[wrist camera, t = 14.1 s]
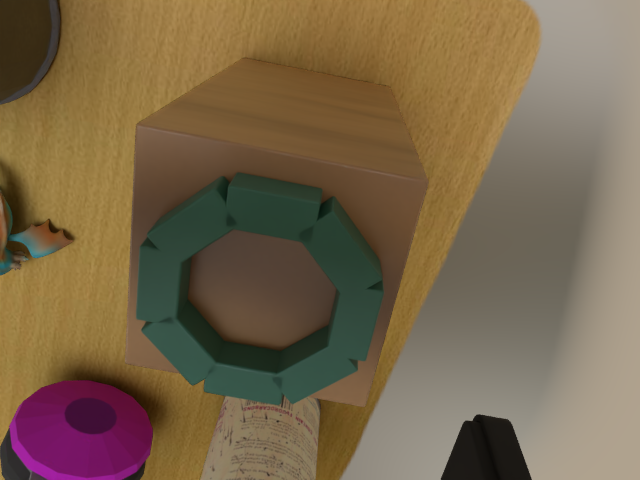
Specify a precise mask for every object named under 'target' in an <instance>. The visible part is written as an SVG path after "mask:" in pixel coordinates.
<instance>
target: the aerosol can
mask: <svg viewBox="0 0 640 480" xmlns="http://www.w3.org/2000/svg"><path fill="white" fill-rule="evenodd" d="M319 421H320V402H319V399H317V398H312V397H306V398H304V399H302V400H300V401H298V402H297V403H295V404H291V403H290V401H289V400H288V399H287V398H286V397H285V396H284V395H283V397H282V402H281V404H280V405H273V404H268V403H262V402H257V401H251V400H245V399H240V398H234V397H229V396H225V398H224V401H223V405H222V408H221V411H220V414H219V417H218V421H217V424H216V427H215V430H214V434H213V437H212V440H211V443H210V447H209V450H208V453H207V456H206V460H205V463H204V466H203V469H202V473H201V476H200V479H199V480H315V477H316V463H317V449H318V435H319Z"/></svg>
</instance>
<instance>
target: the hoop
mask: <svg viewBox="0 0 640 480" xmlns="http://www.w3.org/2000/svg"><path fill="white" fill-rule="evenodd" d="M322 192H323V190H322V189H321V188H317V187H312V186H307V185H302V184H297V183H291V182H286V181H281V180H276V179H271V178H265V177H260V176H255V175H250V174H245V173H240V172H238V173H236V175H235V176H234V178H233V179H232V181H231V183H229V181H228V180H227V179H226V178H225V177H224V176H221V177H219V178H218V179H216V180H215V181H213V182H212V183H210V184H209V185H207V186H206V187H204V188H203V189H201V190H200V191H199V192H197V193H196V194H194V195H193V196H191V197H190V198H188V199H187V200H185V201H184V202H183V203H181V204H180V205H178V206H177V207H175V208H174V209H172V210H171V211H169V212H168V213H166V214H165V215H164V216H162V217H161V218H160V219H159V220H158V221H157V222H156V223H155V224H154V226H153V227H152V228H151V229H150V230H149V232H148V233H147V238H146V239H145V240H144V242H143V243H142V244H141V245H140V247H139V264H138V283H137V302H136V319H138V320H143V321H146V322H145V324H144V326H143V327H142V329H141V331H142V333H143V334H144V335H145V336H146V337H147V338H148V339H149V340H150V341H151V342H152V344H153V345H154V346H155V347H156V348H157V349H158V350H159V351H160V352H161V353H162V354H163V355H164V356H165V357H166V358H167V360H168V361H169V362H170V363H171V364H172V365H173V366H174V367H175V368H176V369H177V370H178V371H179V372H180V373H181V374H182V376H183V377H184V378H185V379H186V380H187V381H188V382H189V383H190V384H191V385H195V384H197V383H199V382H200V381H202V380H204V379H205V381H204V392H207V393H212V394H218V395H223V396H229V397H234V398H240V399H245V400H251V401H257V402H262V403H268V404H273V405H280V404H281V402H282V397H283V395H284V396H285V397H286V398H287V399H288V400H289V401H290V403H291V404H295V403H297V402H298V401H300V400H302V399H304V398H306V397H308V396H310V395H312V394H314V393H316V392H318V391H320V390H322V389H324V388H326V387H328V386H329V385H331V384H333V383H335V382H337V381H339V380H341V379H343V378H345V377H347V376H349V375H351V374H353V373H355V372H357V371H358V360H359V361H366V359H367V355H368V352H369V348H370V344H371V340H372V337H373V333H374V329H375V326H376V322H377V318H378V315H379V311H380V307H381V303H382V300H383V296H384V285H383V276H382V273H381V265H380V259H379V258H378V257H377V255H376V254H375V252H374V251H373V250H372V248H371V247H370V245H369V244H368V243H367V241H366V240H365V238H364V237H363V235H362V234H361V233H360V231H359V230H358V228H357V227H356V226H355V224H354V223H353V221H352V220H351V218H350V217H349V216H348V214H347V213H346V211H345V210H344V209H343V207H342V206H341V204H340V203H339V202H338V200H337V199H336V197H335V196H333V197H331V198H329V199H328V200H326V201H325V202H323V203H321V199H322ZM234 229H235V230H240V231H245V232H251V233H256V234H261V235H267V236H272V237H277V238H282V239H288V240H293V241H298V242H302V243H303V245H304V246H305V247H306V249H307V250H308V251H309V253H310V254H311V255H312V257H313V258H314V259H315V261H316V262H317V263H318V265H319V266H320V267H321V269H322V270H323V271H324V273H325V274H326V275H327V277H328V278H329V279H330V280H331V282H332V283H333V284H334V286H335V287H336V288H337V290H336V295H335V299H334V303H333V308H332V312H331V317H330V321H329V325H327V326H325V327H323V328H322V329H320V330H318V331H316V332H314V333H313V334H311V335H309V336H307V337H305V338H304V339H302V340H300V341H298V342H296V343H295V344H293V345H291V346H289V347H287V348H286V349H284V350H282V351H278V350H272V349H267V348H261V347H256V346H250V345H245V344H239V343H234V342H229V341H224V340H223V339H222V337H221V336H220V335H219V334H218V333H217V332H216V331H215V329H214V328H213V327H212V326H211V325H210V324H209V323H208V321H207V320H206V319H205V318H204V317H203V316H202V315H201V314H200V312H199V311H198V310H197V309H196V308H195V307H194V306H193V304H192V303H191V302H190V301H189V300H188V289H189V279H190V269H191V259H192V256H193V255H195V254H196V253H198V252H199V251H201V250H203V249H204V248H206V247H207V246H209V245H210V244H212V243H213V242H215V241H216V240H218V239H220V238H221V237H223V236H224V235H226V234H227V233H229V232H230V231H232V230H234Z"/></svg>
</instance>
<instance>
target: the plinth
mask: <svg viewBox="0 0 640 480" xmlns="http://www.w3.org/2000/svg"><path fill="white" fill-rule="evenodd" d="M238 172H240V173H245V174H250V175H255V176H260V177H265V178H271V179H276V180H281V181H286V182H291V183H297V184H302V185H307V186H312V187H317V188H321V189H322V190H323V192H322V199H321V203H323V202H325V201H326V200H328V199H329V198H331V197H333V196H335V197H336V199H337V200H338V202H339V203H340V204H341V206H342V207H343V209H344V210H345V211H346V213H347V214H348V216H349V217H350V218H351V220H352V221H353V223H354V224H355V226H356V227H357V228H358V230H359V231H360V233H361V234H362V235H363V237H364V238H365V240H366V241H367V243H368V244H369V245H370V247H371V248H372V250H373V251H374V252H375V254H376V255H377V257H378V258H379V259H380V265H381V273H382V276H383V285H384V296H383V300H382V303H381V307H380V311H379V315H378V318H377V322H376V326H375V329H374V333H373V337H372V340H371V344H370V348H369V352H368V355H367V359H366V361H359V360H358V371H357V372H355V373H353V374H351V375H349V376H347V377H345V378H343V379H341V380H339V381H337V382H335V383H333V384H331V385H329V386H328V387H326V388H324V389H322V390H320V391H318V392H316V393H314V394H312V395H310V396H308V397H312V398H317V399H323V400H328V401H334V402H339V403H345V404H350V405H356V406H361V407H365V406H366V403H367V400H368V396H369V393H370V389H371V386H372V382H373V378H374V375H375V371H376V368H377V364H378V361H379V357H380V354H381V350H382V346H383V343H384V339H385V336H386V332H387V329H388V325H389V322H390V318H391V314H392V311H393V307H394V304H395V300H396V297H397V293H398V290H399V286H400V282H401V279H402V275H403V272H404V268H405V265H406V261H407V258H408V254H409V250H410V247H411V243H412V240H413V236H414V233H415V229H416V226H417V222H418V218H419V215H420V211H421V208H422V204H423V201H424V197H425V194H426V190H427V186H428V183H429V182H428V178H427V176H426V173H425V171H424V168H423V166H422V164H421V161H420V159H419V156H418V154H417V151H416V149H415V146H414V144H413V142H412V139H411V137H410V134H409V132H408V129H407V127H406V124H405V122H404V120H403V117H402V115H401V112H400V110H399V107H398V105H397V102H396V100H395V97H394V95H393V93H392V90H391V88H390V87H389V86H384V85H379V84H374V83H369V82H364V81H359V80H354V79H349V78H344V77H339V76H334V75H329V74H324V73H319V72H314V71H309V70H304V69H299V68H293V67H288V66H283V65H278V64H273V63H268V62H263V61H258V60H253V59H248V58H242V59H240V60H239V61H237V62H235V63H234V64H232V65H231V66H229V67H227V68H226V69H224V70H223V71H221V72H219V73H218V74H216V75H215V76H213V77H211V78H210V79H208V80H206V81H205V82H203V83H202V84H200V85H198V86H197V87H195V88H194V89H192V90H190V91H189V92H187V93H185V94H184V95H182V96H181V97H179V98H177V99H176V100H174V101H173V102H171V103H169V104H168V105H166V106H165V107H163V108H161V109H160V110H158V111H156V112H155V113H153V114H152V115H150V116H148V117H147V118H145V119H144V120H142V121H140V122H139V123H137V124H136V135H135V157H134V179H133V201H132V224H131V246H130V268H129V290H128V312H127V335H126V357H125V363H126V364H130V365H135V366H141V367H146V368H152V369H157V370H163V371H168V372H174V373H179V374H181V373H180V372H179V371H178V370H177V369H176V368H175V367H174V366H173V365H172V364H171V363H170V362H169V361H168V360H167V358H166V357H165V356H164V355H163V354H162V353H161V352H160V351H159V350H158V349H157V348H156V347H155V346H154V345H153V344H152V342H151V341H150V340H149V339H148V338H147V337H146V336H145V335H144V334H143V333H142V331H141V329H142V327H143V326H144V324H145V322H146V321H143V320H138V319H136V302H137V283H138V264H139V247H140V245H141V244H142V243H143V242H144V240H145V239H146V238H147V233H148V232H149V230H150V229H151V228H152V227H153V226H154V224H155V223H156V222H157V221H158V220H159V219H160V218H161V217H162V216H164V215H165V214H166V213H168V212H169V211H171V210H172V209H174V208H175V207H177V206H178V205H180V204H181V203H183V202H184V201H185V200H187V199H188V198H190V197H191V196H193V195H194V194H196V193H197V192H199V191H200V190H201V189H203V188H204V187H206V186H207V185H209V184H210V183H212V182H213V181H215V180H216V179H218V178H219V177H221V176H224V177H225V178H226V179H227V180H228V181H229V183H231V181H232V179H233V178H234V176H235V175H236V173H238ZM336 290H337V288H336V287H335V286H334V284H333V283H332V282H331V280H330V279H329V278H328V277H327V275H326V274H325V273H324V271H323V270H322V269H321V267H320V266H319V265H318V263H317V262H316V261H315V259H314V258H313V257H312V255H311V254H310V253H309V251H308V250H307V249H306V247H305V246H304V245H303V243H302V242H298V241H293V240H288V239H282V238H277V237H272V236H267V235H261V234H256V233H251V232H245V231H240V230H235V229H234V230H232V231H230V232H229V233H227V234H226V235H224V236H223V237H221V238H220V239H218V240H216V241H215V242H213V243H212V244H210V245H209V246H207V247H206V248H204V249H203V250H201V251H199V252H198V253H196V254H195V255H193V256H192V259H191V269H190V279H189V289H188V300H189V301H190V302H191V303H192V304H193V306H194V307H195V308H196V309H197V310H198V311H199V312H200V314H201V315H202V316H203V317H204V318H205V319H206V320H207V321H208V323H209V324H210V325H211V326H212V327H213V328H214V329H215V331H216V332H217V333H218V334H219V335H220V336H221V337H222V339H223V340H224V341H229V342H234V343H239V344H245V345H250V346H256V347H261V348H267V349H272V350H278V351H282V350H284V349H286V348H287V347H289V346H291V345H293V344H295V343H296V342H298V341H300V340H302V339H304V338H305V337H307V336H309V335H311V334H313V333H314V332H316V331H318V330H320V329H322V328H323V327H325V326H327V325H329V321H330V317H331V312H332V308H333V303H334V299H335V295H336Z"/></svg>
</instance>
